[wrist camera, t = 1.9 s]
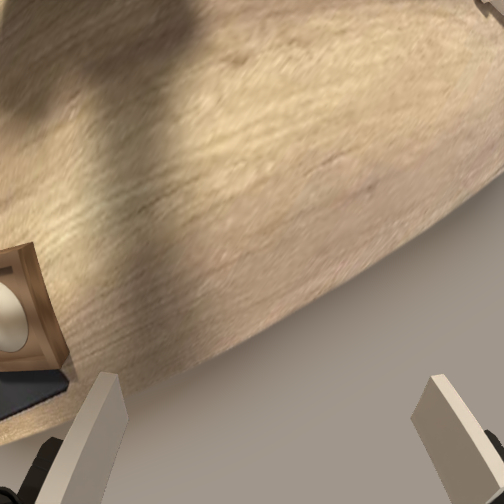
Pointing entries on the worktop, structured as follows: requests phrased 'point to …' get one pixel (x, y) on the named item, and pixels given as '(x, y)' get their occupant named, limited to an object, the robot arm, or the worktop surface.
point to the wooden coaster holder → (27, 315)
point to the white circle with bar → (496, 5)
